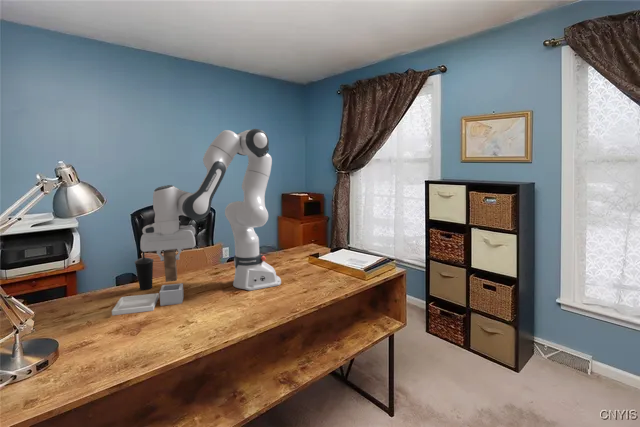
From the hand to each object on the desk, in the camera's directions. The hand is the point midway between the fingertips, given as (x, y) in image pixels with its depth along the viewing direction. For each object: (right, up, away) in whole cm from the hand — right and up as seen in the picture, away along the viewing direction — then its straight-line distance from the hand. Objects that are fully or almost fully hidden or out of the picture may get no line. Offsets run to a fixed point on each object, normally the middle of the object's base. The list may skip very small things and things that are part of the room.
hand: (170, 260), depth 139 cm
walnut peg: (0, -8, +1) cm, 8 cm away
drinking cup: (-18, -16, +17) cm, 29 cm away
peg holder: (0, -18, +3) cm, 18 cm away
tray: (-12, -19, -2) cm, 22 cm away
